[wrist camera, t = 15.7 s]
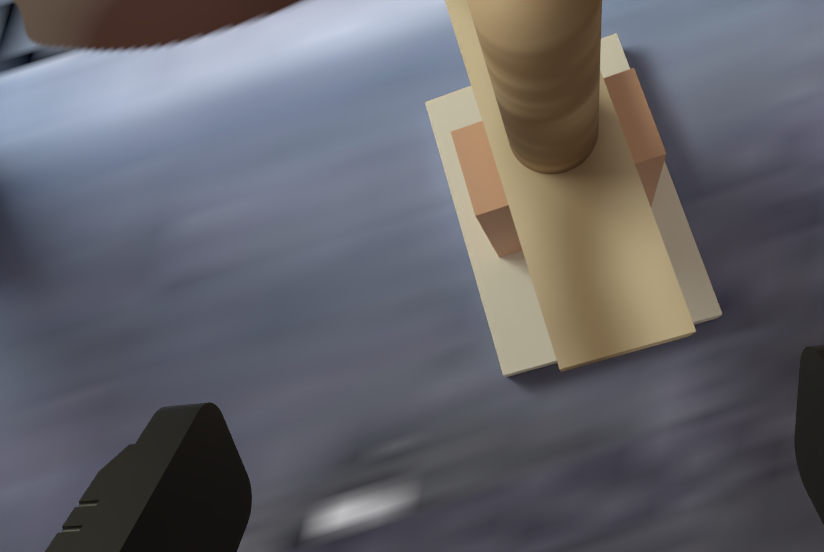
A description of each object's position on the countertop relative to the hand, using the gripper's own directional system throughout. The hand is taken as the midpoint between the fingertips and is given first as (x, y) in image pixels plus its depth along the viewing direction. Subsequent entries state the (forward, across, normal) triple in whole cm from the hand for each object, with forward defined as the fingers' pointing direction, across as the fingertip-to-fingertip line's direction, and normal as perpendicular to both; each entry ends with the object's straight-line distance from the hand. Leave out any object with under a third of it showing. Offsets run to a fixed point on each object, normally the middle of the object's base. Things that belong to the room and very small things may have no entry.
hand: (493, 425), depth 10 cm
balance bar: (+21, -2, +3) cm, 21 cm away
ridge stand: (+28, -2, +10) cm, 30 cm away
